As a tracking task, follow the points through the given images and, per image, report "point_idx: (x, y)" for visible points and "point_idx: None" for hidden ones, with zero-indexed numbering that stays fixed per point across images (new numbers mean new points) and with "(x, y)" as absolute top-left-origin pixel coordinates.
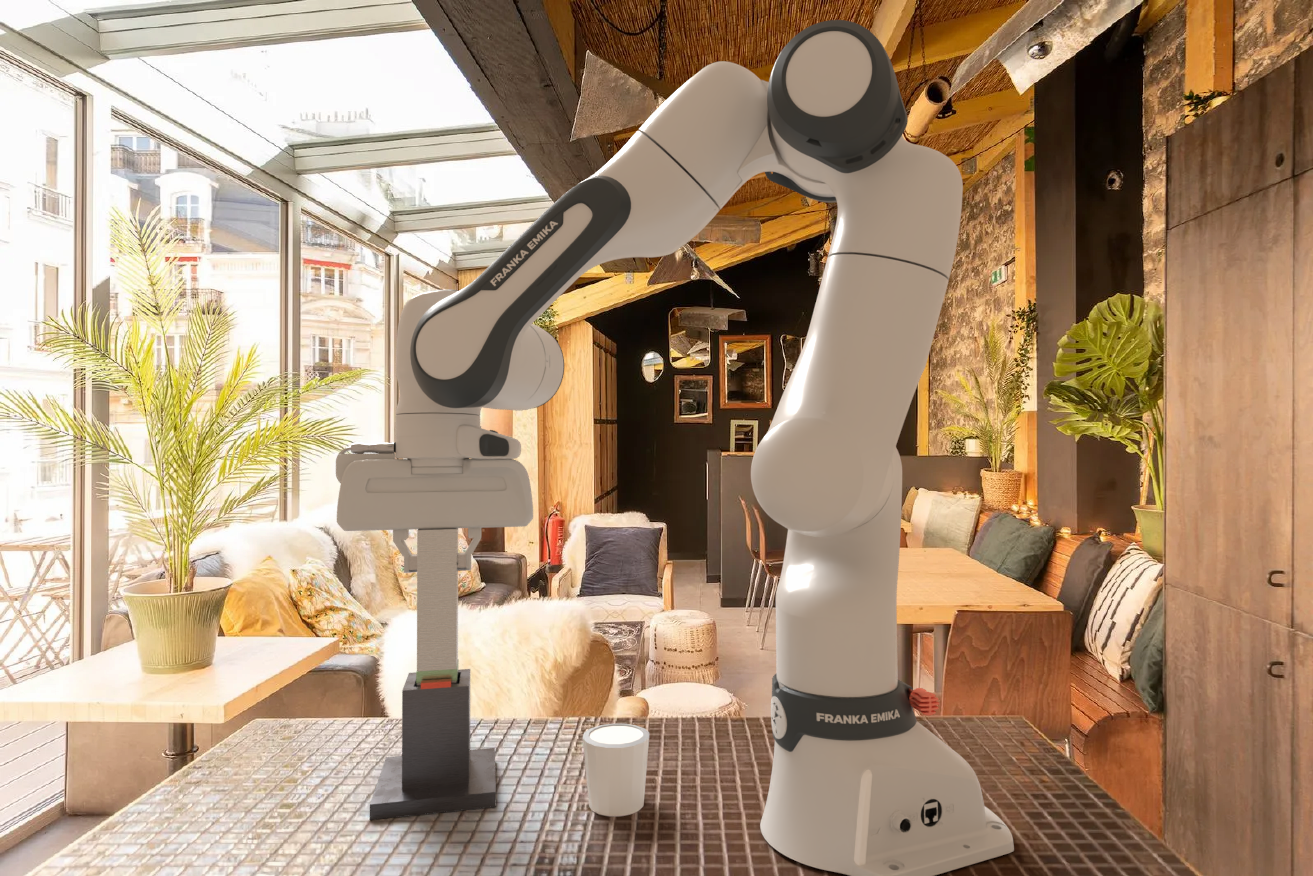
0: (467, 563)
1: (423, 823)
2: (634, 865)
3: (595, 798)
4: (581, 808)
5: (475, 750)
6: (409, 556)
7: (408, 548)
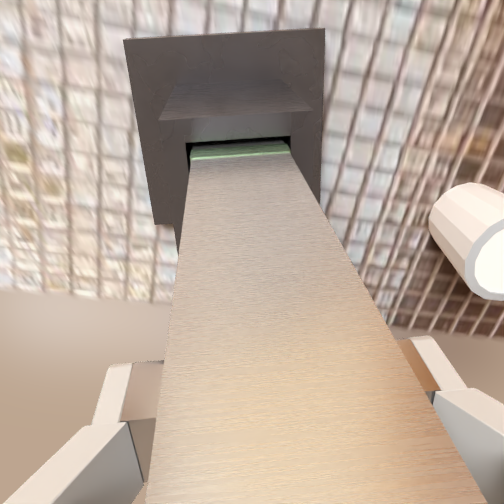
0: None
1: None
2: (433, 332)
3: (438, 244)
4: (418, 221)
5: (289, 36)
6: (140, 483)
7: (101, 460)
